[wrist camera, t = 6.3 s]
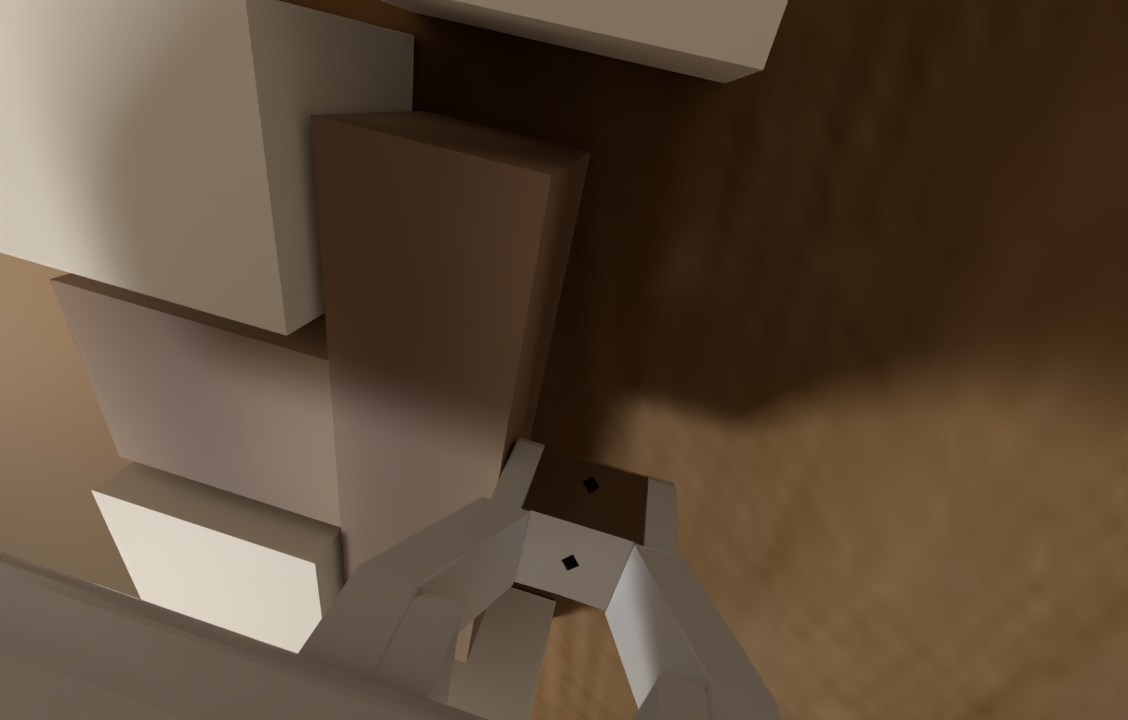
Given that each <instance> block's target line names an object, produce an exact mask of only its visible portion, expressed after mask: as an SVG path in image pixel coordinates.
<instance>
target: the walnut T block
mask: <svg viewBox="0 0 1128 720" xmlns="http://www.w3.org/2000/svg"><path fill="white" fill-rule="evenodd" d="M311 128H312V142H313V155H314V169H315V183H316V196H317V210H318V224H319V237H320V251H321V265H322V278H323V292H324V306H325V313H324V314H322V315H320V316H319V317H317V318H315V319H314V320H312V321H310V322H309V323H307V324H305V325H304V326H302V327H300V328H299V329H297V330H295V331H294V332H292V333H291V334H289V335H287V336H286V335H283V334H279V333H276V332H273V331H269V330H266V329H262V328H259V327H255V326H252V325H248V324H245V323H242V322H238V321H235V320H231V319H228V318H224V317H221V316H217V315H214V314H211V313H207V312H204V311H200V310H197V309H193V308H190V307H186V306H183V305H180V304H176V303H173V302H169V301H166V300H162V299H159V298H156V297H152V296H149V295H145V294H142V293H138V292H135V291H131V290H128V289H125V288H121V287H118V286H114V285H111V284H107V283H104V282H100V281H97V280H94V279H90V278H87V277H83V276H80V275H76V274H73V273H70V274H67V275H63V276H60V277H56V278H53V279H50V281H51V283H52V286H53V288H54V291H55V293H56V296H57V299H58V301H59V304H60V306H61V309H62V311H63V314H64V316H65V319H66V321H67V324H68V327H69V329H70V332H71V334H72V336H73V339H74V342H75V344H76V347H77V349H78V352H79V354H80V357H81V360H82V362H83V365H84V367H85V370H86V372H87V375H88V377H89V380H90V382H91V385H92V387H93V390H94V393H95V395H96V398H97V400H98V403H99V405H100V407H101V410H102V413H103V415H104V418H105V420H106V423H107V426H108V428H109V431H110V433H111V436H112V438H113V441H114V443H115V446H116V448H117V451H118V453H119V456H120V457H123V458H126V459H129V460H132V461H135V462H138V463H141V464H144V465H148V466H151V467H154V468H157V469H160V470H163V471H166V472H169V473H173V474H176V475H179V476H182V477H185V478H188V479H191V480H194V481H197V482H201V483H204V484H207V485H210V486H213V487H216V488H219V489H222V490H226V491H229V492H232V493H235V494H238V495H241V496H244V497H247V498H250V499H254V500H257V501H260V502H263V503H266V504H269V505H272V506H275V507H279V508H282V509H285V510H288V511H291V512H294V513H297V514H300V515H303V516H307V517H310V518H313V519H316V520H319V521H322V522H325V523H328V524H331V525H335V526H338V527H341V538H342V552H343V565H344V579H345V584H346V583H347V581H348V580H349V578H350V577H351V575H352V574H353V573H354V571H355V570H356V568H357V567H358V566H359V565H361V564H362V563H364V562H366V561H368V560H370V559H371V558H373V557H375V556H377V555H379V554H380V553H382V552H384V551H386V550H387V549H389V548H391V547H393V546H395V545H396V544H398V543H400V542H402V541H404V540H405V539H407V538H409V537H411V536H413V535H414V534H416V533H418V532H420V531H422V530H423V529H425V528H427V527H429V526H430V525H432V524H434V523H436V522H438V521H439V520H441V519H443V518H445V517H447V516H448V515H450V514H452V513H454V512H456V511H457V510H459V509H461V508H463V507H464V506H466V505H468V504H470V503H472V502H473V501H475V500H477V499H479V498H481V497H485V498H488V499H490V498H491V496H492V493H493V491H494V489H495V487H496V485H497V483H498V480H499V478H500V476H501V474H502V472H503V470H504V468H505V465H506V463H507V461H508V459H509V457H510V455H511V452H512V450H513V448H514V446H515V444H516V442H517V441H518V440H519V438H520V437H521V438H524V439H527V440H530V439H531V434H532V429H533V424H534V420H535V415H536V410H537V405H538V401H539V396H540V391H541V386H542V382H543V377H544V372H545V367H546V363H547V358H548V353H549V348H550V344H551V339H552V334H553V329H554V325H555V320H556V315H557V311H558V306H559V301H560V296H561V292H562V287H563V282H564V277H565V273H566V268H567V263H568V258H569V254H570V249H571V244H572V239H573V235H574V230H575V225H576V220H577V216H578V211H579V206H580V201H581V197H582V192H583V187H584V183H585V178H586V173H587V168H588V164H589V159H590V154H591V151H587V150H583V149H579V148H575V147H571V146H567V145H563V144H559V143H555V142H551V141H546V140H542V139H538V138H534V137H530V136H526V135H522V134H518V133H514V132H510V131H506V130H501V129H497V128H493V127H489V126H485V125H481V124H477V123H473V122H469V121H465V120H461V119H457V118H452V117H448V116H444V115H440V114H436V113H432V112H428V111H406V112H379V113H352V114H324V115H311ZM485 611H486V609H485V610H484V611H483V612H482V613H481V614H479V615H478V616H477V617H476V618H475V619H474V620H473V621H472V622H470V623H469V624H468V625H467V626H466V627H465V628H464V629H462V630H461V631H460V632H459V633H458V638H457V645H456V651H455V658H454V659H455V660H458V661H461V662H464V663H467V660H468V657H469V655H470V652H471V649H472V646H473V644H474V641H475V638H476V636H477V633H478V630H479V627H480V625H481V622H482V619H483V617H484V614H485Z"/></svg>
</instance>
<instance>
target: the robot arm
mask: <svg viewBox="0 0 1128 720" xmlns="http://www.w3.org/2000/svg"><path fill="white" fill-rule="evenodd" d="M514 582H517V583H521V584H524V585H527V586H531V587H534V588H538V589H541V590H545V591H548V592H552V593H555V594H559V595H561V596H564V597H567V598H570V599H573V600H576V601H579V602H581V603H584V604H587V605H590V606H593V607H596V608H598V609H601V610H604V611H606V612H605V615H606V618H607V621H608V623H609V626H610V629H611V632H612V635H613V638H614V640H615V643H616V646H617V649H618V652H619V655H620V658H621V660H622V663H623V666H624V669H625V672H626V675H627V677H628V680H629V683H630V686H631V689H632V692H633V694H634V697H635V700H636V703H637V706H638V709H639V710H638V711H637V713H636V715H635V716H634V718H633V719H632V720H781V717H780V711H779V705H778V703H777V702H776V700H775V699H774V697H773V696H772V694H771V692H770V691H769V689H768V688H767V686H766V685H765V683H764V681H763V680H762V678H761V677H760V675H759V674H758V672H757V671H756V669H755V667H754V666H753V664H752V663H751V661H750V660H749V658H748V656H747V655H746V653H745V652H744V650H743V649H742V647H741V646H740V644H739V642H738V641H737V639H736V638H735V636H734V635H733V633H732V631H731V630H730V628H729V627H728V625H727V624H726V622H725V621H724V619H723V617H722V616H721V614H720V613H719V611H718V610H717V608H716V606H715V605H714V603H713V602H712V600H711V599H710V597H709V596H708V594H707V592H706V591H705V589H704V588H703V586H702V585H701V583H700V581H699V580H698V578H697V577H696V575H695V574H694V572H693V571H692V569H691V567H690V566H689V564H688V563H687V561H686V560H685V559H682V558H679V557H677V528H676V486H675V484H674V483H673V482H670V481H666V480H662V479H659V478H655V477H652V476H648V475H647V476H646V475H643V474H639V473H636V472H632V471H629V470H625V469H622V468H618V467H615V466H612V465H608V464H605V463H601V462H598V461H594V460H591V459H588V458H585V457H582V456H579V455H576V454H573V453H569V452H566V451H563V450H560V449H557V448H554V447H551V446H548V445H546V447H545V445H543V444H540V443H537V442H534V441H530V440H527V439H524V438H521V437H520V438H519V440H518V441H517V442H516V444H515V446H514V448H513V450H512V452H511V455H510V457H509V459H508V461H507V463H506V465H505V468H504V470H503V472H502V474H501V476H500V478H499V480H498V483H497V485H496V487H495V489H494V491H493V493H492V496H491V498H490V499H488V498H485V497H481V498H479V499H477V500H475V501H473V502H472V503H470V504H468V505H466V506H464V507H463V508H461V509H459V510H457V511H456V512H454V513H452V514H450V515H448V516H447V517H445V518H443V519H441V520H439V521H438V522H436V523H434V524H432V525H430V526H429V527H427V528H425V529H423V530H422V531H420V532H418V533H416V534H414V535H413V536H411V537H409V538H407V539H405V540H404V541H402V542H400V543H398V544H396V545H395V546H393V547H391V548H389V549H387V550H386V551H384V552H382V553H380V554H379V555H377V556H375V557H373V558H371V559H370V560H368V561H366V562H364V563H362V564H361V565H359V566H358V567H357V568H356V570H355V571H354V573H353V574H352V575H351V577H350V578H349V580H348V581H347V583H346V584H345V586H344V587H343V589H342V590H341V591H340V593H339V594H338V596H337V597H336V599H335V600H334V602H333V603H332V605H331V606H330V607H329V609H328V610H327V612H326V613H325V615H324V616H323V618H322V619H321V621H320V622H319V623H318V625H317V626H316V628H315V629H314V631H313V632H312V634H311V635H310V637H309V638H308V639H307V641H306V642H305V644H304V645H303V647H302V648H301V650H300V651H299V653H295V652H292V651H289V650H286V649H283V648H280V647H277V646H275V645H272V644H269V643H266V642H263V641H260V640H257V639H254V638H251V637H248V636H246V635H243V634H240V633H237V632H234V631H231V630H228V629H225V628H222V627H220V626H217V625H214V624H211V623H208V622H205V621H202V620H199V619H196V618H194V617H191V616H188V615H185V614H182V613H179V612H176V611H173V610H170V609H167V608H165V607H162V606H159V605H156V604H153V603H150V602H147V601H144V600H141V599H138V598H135V597H133V596H130V595H127V594H124V593H121V592H118V591H115V590H112V589H110V588H107V587H104V586H101V585H98V584H95V583H92V582H89V581H86V580H84V579H81V578H78V577H75V576H72V575H69V574H66V573H63V572H60V571H58V570H55V569H52V568H49V567H46V566H43V565H40V564H37V563H34V562H31V561H28V560H26V559H22V558H20V557H17V556H14V555H11V554H8V553H5V552H2V551H0V720H489V719H486V718H483V717H480V716H477V715H474V714H471V713H468V712H465V711H463V710H460V709H457V708H454V707H451V706H448V705H446V703H447V700H448V697H449V690H450V684H451V677H452V671H453V664H454V658H455V651H456V645H457V638H458V633H459V632H460V631H461V630H462V629H464V628H465V627H466V626H467V625H468V624H469V623H470V622H472V621H473V620H474V619H475V618H476V617H477V616H478V615H479V614H481V613H482V612H483V611H484V610H485V609H486V608H487V607H488V606H490V605H491V604H492V603H493V602H494V601H495V600H496V599H497V598H499V597H500V596H501V595H502V594H503V593H504V592H505V591H506V590H508V589H509V588H510V587H511V586H512V585H513V583H514Z"/></svg>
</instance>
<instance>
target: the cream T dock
mask: <svg viewBox="0 0 1128 720" xmlns="http://www.w3.org/2000/svg"><path fill="white" fill-rule="evenodd" d="M379 1H382V2H385V3H388V4H391V5H394V6H397V7H400V8H403V9H406V10H409V11H411V12H414V13H418V14H423V15H427V16H432V17H436V18H440V19H445V20H449V21H453V22H458V23H462V24H467V25H471V26H475V27H480V28H484V29H489V30H493V31H497V32H502V33H506V34H510V35H515V36H519V37H524V38H528V39H532V40H537V41H541V42H546V43H550V44H554V45H559V46H563V47H567V48H572V49H576V50H581V51H585V52H589V53H594V54H598V55H603V56H607V57H611V58H616V59H620V60H624V61H629V62H633V63H638V64H642V65H646V66H651V67H655V68H660V69H664V70H668V71H673V72H677V73H681V74H686V75H690V76H695V77H699V78H703V79H708V80H712V81H717V82H721V83H728V82H730V81H733V80H736V79H739V78H742V77H745V76H747V75H750V74H753V73H756V72H759V71H762V70H763V69H764V66H765V64H766V61H767V58H768V55H769V52H770V50H771V47H772V44H773V41H774V39H775V36H776V33H777V30H778V27H779V25H780V22H781V19H782V16H783V13H784V11H785V8H786V5H787V2H788V0H379ZM413 64H414V35H412V34H408V33H404V32H400V31H396V30H392V29H388V28H384V27H380V26H376V25H373V24H369V23H365V22H361V21H357V20H353V19H349V18H345V17H341V16H338V15H334V14H330V13H326V12H322V11H318V10H314V9H310V8H306V7H302V6H299V5H295V4H291V3H287V2H283V1H279V0H0V252H1V253H4V254H8V255H11V256H14V257H18V258H22V259H25V260H28V261H32V262H35V263H38V264H42V265H45V266H49V267H52V268H56V269H59V270H63V271H66V272H70V273H73V274H76V275H80V276H83V277H87V278H90V279H94V280H97V281H100V282H104V283H107V284H111V285H114V286H118V287H121V288H125V289H128V290H131V291H135V292H138V293H142V294H145V295H149V296H152V297H156V298H159V299H162V300H166V301H169V302H173V303H176V304H180V305H183V306H186V307H190V308H193V309H197V310H200V311H204V312H207V313H211V314H214V315H217V316H221V317H224V318H228V319H231V320H235V321H238V322H242V323H245V324H248V325H252V326H255V327H259V328H262V329H266V330H269V331H273V332H276V333H279V334H283V335H286V336H287V335H289V334H291V333H292V332H294V331H295V330H297V329H299V328H300V327H302V326H304V325H305V324H307V323H309V322H310V321H312V320H314V319H315V318H317V317H319V316H320V315H322V314H324V313H325V306H324V292H323V278H322V265H321V251H320V237H319V224H318V210H317V196H316V183H315V169H314V155H313V142H312V128H311V115H324V114H352V113H379V112H406V111H412V101H413ZM91 491H92V493H93V495H94V497H95V499H96V502H97V504H98V506H99V508H100V510H101V513H102V515H103V517H104V519H105V521H106V523H107V526H108V528H109V530H110V532H111V534H112V536H113V539H114V541H115V543H116V545H117V547H118V550H119V552H120V554H121V556H122V558H123V560H124V563H125V565H126V567H127V569H128V571H129V574H130V575H131V578H132V580H133V582H134V584H135V587H136V589H137V591H138V593H139V595H140V597H141V600H144V601H147V602H150V603H153V604H156V605H159V606H162V607H165V608H167V609H170V610H173V611H176V612H179V613H182V614H185V615H188V616H191V617H194V618H196V619H199V620H202V621H205V622H208V623H211V624H214V625H217V626H220V627H222V628H225V629H228V630H231V631H234V632H237V633H240V634H243V635H246V636H248V637H251V638H254V639H257V640H260V641H263V642H266V643H269V644H272V645H275V646H277V647H280V648H283V649H286V650H289V651H292V652H295V653H299V651H300V650H301V648H302V647H303V645H304V644H305V642H306V641H307V639H308V638H309V637H310V635H311V634H312V632H313V631H314V629H315V628H316V626H317V625H318V623H319V622H320V621H321V619H322V618H323V616H324V615H325V613H326V612H327V610H328V609H329V607H330V606H331V605H332V603H333V602H334V600H335V599H336V597H337V596H338V594H339V593H340V591H341V590H342V589H343V587H344V586H345V579H344V565H343V552H342V538H341V527H338V526H335V525H331V524H328V523H325V522H322V521H319V520H316V519H313V518H310V517H307V516H303V515H300V514H297V513H294V512H291V511H288V510H285V509H282V508H279V507H275V506H272V505H269V504H266V503H263V502H260V501H257V500H254V499H250V498H247V497H244V496H241V495H238V494H235V493H232V492H229V491H226V490H222V489H219V488H216V487H213V486H210V485H207V484H204V483H201V482H197V481H194V480H191V479H188V478H185V477H182V476H179V475H176V474H173V473H169V472H166V471H163V470H160V469H157V468H154V467H151V466H148V465H144V464H141V463H138V462H135V461H134V462H132V463H131V464H130V465H128V466H126V467H125V468H124V469H122V470H120V471H119V472H117V473H116V474H114V475H113V476H111V477H110V478H109V479H107V480H105V481H104V482H102V483H101V484H99V485H98V486H96V487H95V488H93V489H92V490H91ZM555 605H556V601H553V600H550V599H547V598H544V597H541V596H538V595H534V594H531V593H528V592H525V591H522V590H519V589H516V588H513V587H510V588H509V589H508V590H506V591H505V592H504V593H503V594H502V595H501V596H500V597H499V598H497V599H496V600H495V601H494V602H493V603H492V604H491V605H490V606H488V607H487V608H486V611H485V614H484V617H483V619H482V622H481V625H480V627H479V630H478V633H477V636H476V638H475V641H474V644H473V646H472V649H471V652H470V655H469V657H468V660H467V663H464V662H461V661H458V660H455V659H454V664H453V671H452V677H451V684H450V690H449V697H448V700H447V703H446V705H448V706H451V707H454V708H457V709H460V710H463V711H465V712H468V713H471V714H474V715H477V716H480V717H483V718H486V719H489V720H529V716H530V712H531V708H532V704H533V699H534V695H535V691H536V687H537V682H538V678H539V674H540V669H541V665H542V661H543V657H544V652H545V648H546V644H547V640H548V635H549V631H550V627H551V622H552V618H553V614H554V610H555Z"/></svg>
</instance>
